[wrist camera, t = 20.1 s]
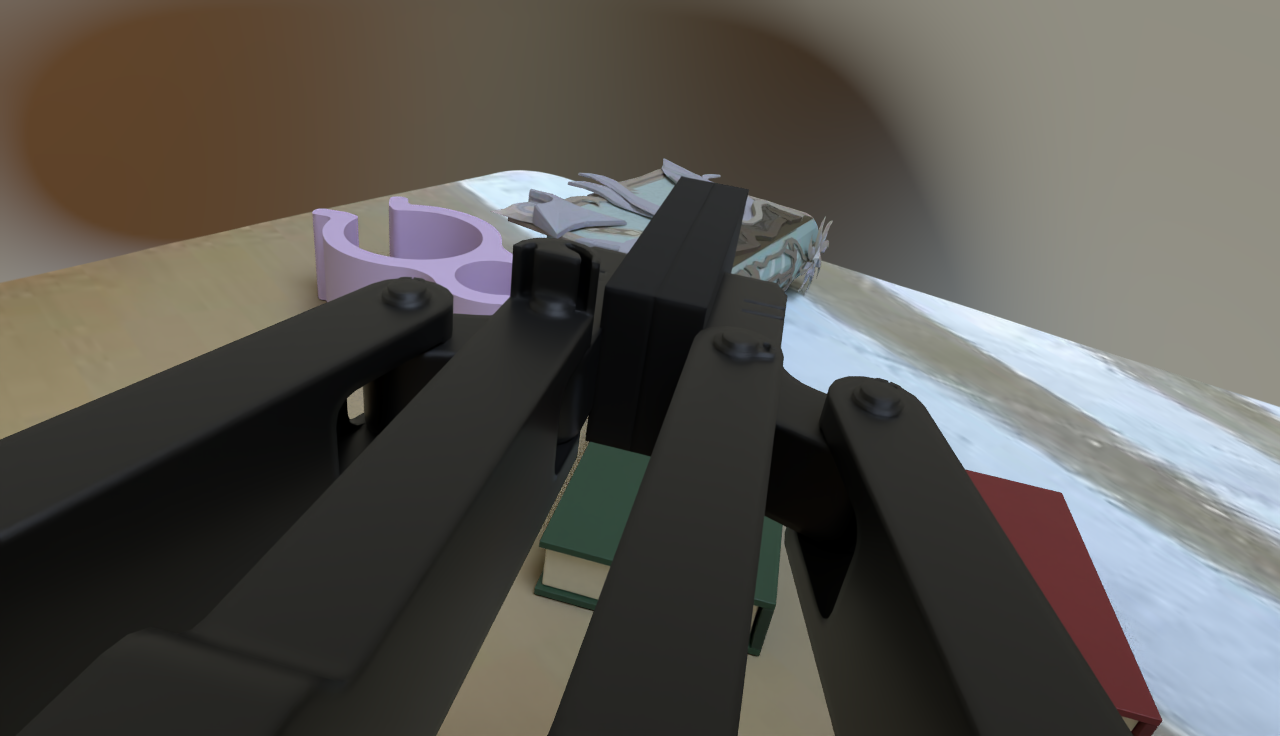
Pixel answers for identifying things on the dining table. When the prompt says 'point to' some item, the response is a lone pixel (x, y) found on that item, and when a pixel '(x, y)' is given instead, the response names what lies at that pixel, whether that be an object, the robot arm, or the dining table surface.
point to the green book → (595, 527)
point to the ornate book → (619, 214)
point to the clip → (416, 255)
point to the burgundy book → (1071, 589)
